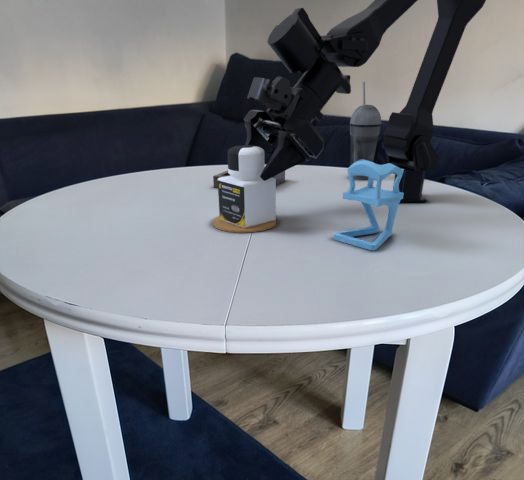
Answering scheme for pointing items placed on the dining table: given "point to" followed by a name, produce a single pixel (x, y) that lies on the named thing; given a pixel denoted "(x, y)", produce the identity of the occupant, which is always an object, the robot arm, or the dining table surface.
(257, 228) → the cork coaster
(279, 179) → the bottle holder
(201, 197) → the dining table surface
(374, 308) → the dining table surface
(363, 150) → the beverage cup
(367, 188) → the chair
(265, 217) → the medicine bottle
